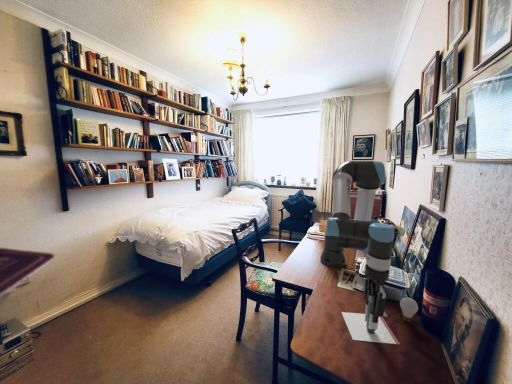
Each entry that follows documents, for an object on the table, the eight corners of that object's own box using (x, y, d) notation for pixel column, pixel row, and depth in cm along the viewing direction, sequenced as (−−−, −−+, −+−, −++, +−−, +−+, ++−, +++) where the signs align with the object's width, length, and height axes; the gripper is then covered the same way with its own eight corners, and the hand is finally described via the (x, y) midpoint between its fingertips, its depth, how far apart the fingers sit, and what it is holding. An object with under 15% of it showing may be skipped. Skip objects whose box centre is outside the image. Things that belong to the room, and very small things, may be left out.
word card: (365, 307, 94) (365, 306, 94) (381, 308, 94) (382, 307, 94) (370, 315, 89) (370, 314, 89) (387, 317, 89) (387, 316, 89)
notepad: (341, 312, 91) (341, 311, 91) (380, 315, 89) (380, 315, 89) (352, 340, 77) (353, 339, 77) (399, 344, 76) (400, 343, 76)
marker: (364, 327, 83) (367, 294, 81) (373, 328, 82) (377, 295, 80) (367, 334, 80) (370, 299, 77) (377, 335, 79) (380, 300, 77)
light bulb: (398, 313, 91) (401, 292, 89) (416, 320, 87) (419, 298, 85) (397, 321, 86) (400, 299, 85) (415, 329, 83) (418, 306, 81)
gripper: (358, 255, 85) (352, 309, 89) (376, 277, 69) (369, 341, 73) (377, 256, 84) (371, 310, 88) (401, 279, 69) (392, 343, 72)
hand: (370, 324), depth 81 cm, fingers closed on marker, 3 cm apart
